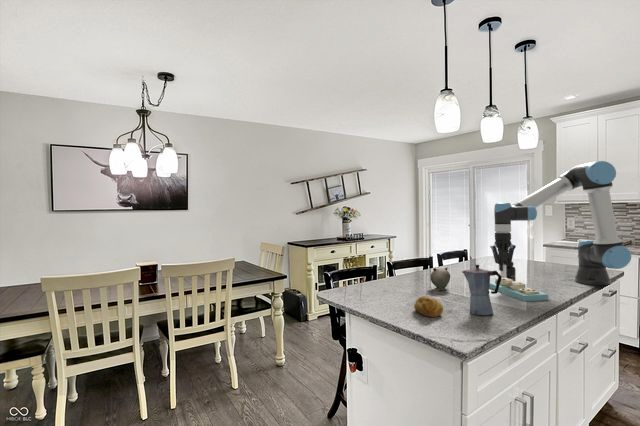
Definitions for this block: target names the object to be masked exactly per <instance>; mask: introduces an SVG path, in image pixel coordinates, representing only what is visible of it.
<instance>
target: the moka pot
mask: <svg viewBox="0 0 640 426" xmlns="http://www.w3.org/2000/svg"><path fill="white" fill-rule="evenodd" d="M474 265H475V268H472V269H465V270H463V271H461V273H463V276H464V277H465V279H466V281H467V283H468V288H469V293H470V296H469V297H470V298H469V300H470V301H469V313H470V314H472V315H477V316H489V315H493V314H494V311H493V307H492V302H491V296H490V294H492V295H494V294H495V295H496V294H498V292H499V291H498V289H499V285H500V282H501V279H502V277H501V273H499V272H498V271H497V270H488V269H484V268H483V269H482V268H480V264H474ZM491 276H493V277H494V276H497V278H498V280H497V284H496V289H495V290H494V291H490V289H491V288H490V282H491Z"/></svg>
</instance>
